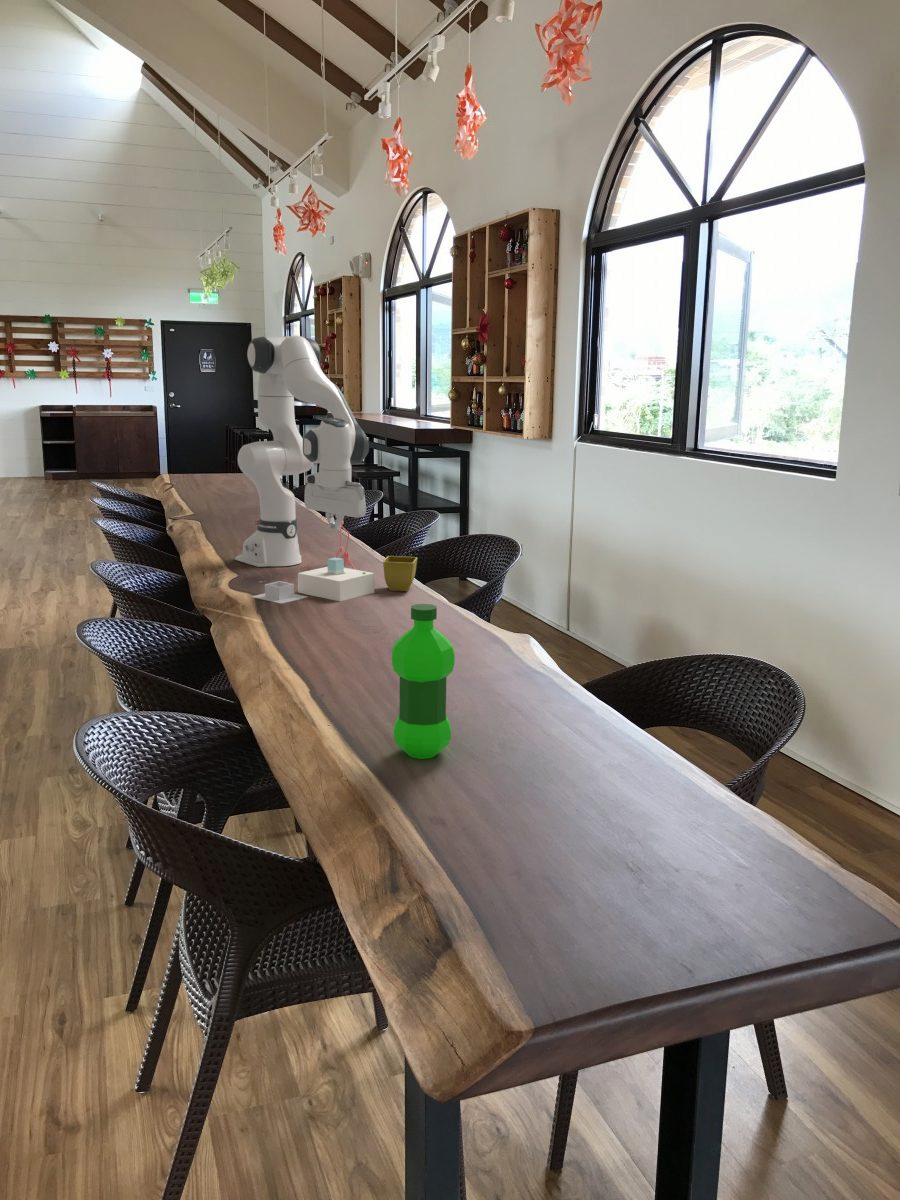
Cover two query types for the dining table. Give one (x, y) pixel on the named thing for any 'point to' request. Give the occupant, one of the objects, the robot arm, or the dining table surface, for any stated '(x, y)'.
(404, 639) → the plastic bottle
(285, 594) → the holster
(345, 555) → the figurine
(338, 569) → the plug
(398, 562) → the flower pot
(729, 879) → the dining table surface
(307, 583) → the port
